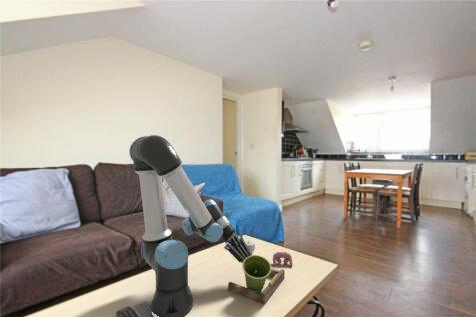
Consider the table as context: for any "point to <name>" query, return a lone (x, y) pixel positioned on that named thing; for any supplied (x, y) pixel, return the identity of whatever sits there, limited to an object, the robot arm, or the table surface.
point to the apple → (250, 245)
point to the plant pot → (260, 276)
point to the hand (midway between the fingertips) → (255, 272)
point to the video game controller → (282, 255)
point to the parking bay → (259, 296)
